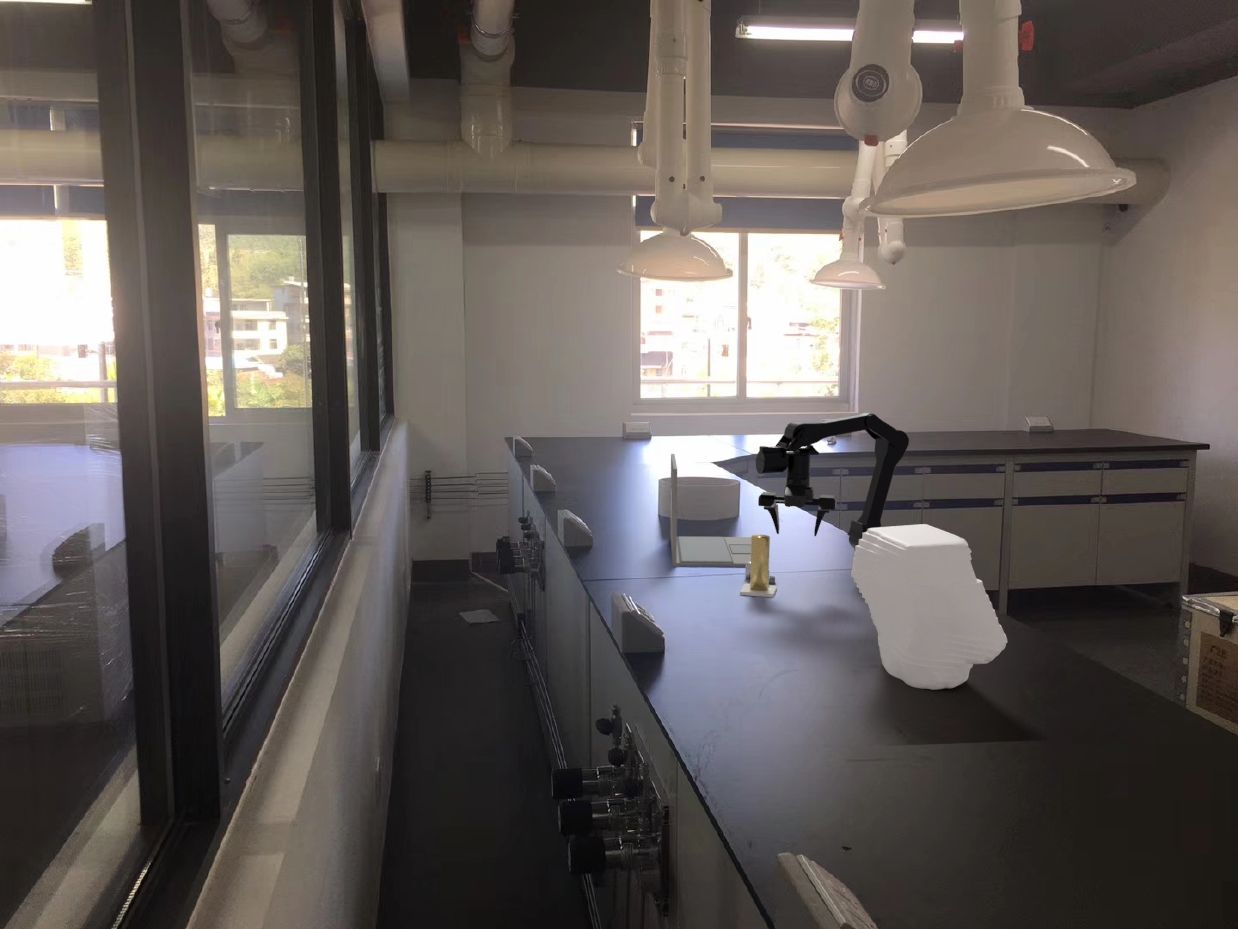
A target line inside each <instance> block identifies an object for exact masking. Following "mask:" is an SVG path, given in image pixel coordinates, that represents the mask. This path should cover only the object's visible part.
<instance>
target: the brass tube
mask: <svg viewBox="0 0 1238 929" xmlns="http://www.w3.org/2000/svg"><path fill="white" fill-rule="evenodd" d="M751 537H752V538H751V571H750V579H749V584H750V589H752V590H755V591H766V590H768V578H769V576H770V542H771V536H769V535H765V534H752V535H751Z"/></svg>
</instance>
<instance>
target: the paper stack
mask: <svg viewBox="0 0 1238 929" xmlns="http://www.w3.org/2000/svg"><path fill="white" fill-rule="evenodd" d="M853 553H854V554H853V555H854V557H853V558H852V566H851V567H852V568H851V573H850V577H851V578H853V583H856V588H858V592H859V594H861V598H863V599H864V602H865V603H866V604H867V605H868V606H867V607H868V608H869V614H871V615H870V619H871V620H872V624H873V625H874V626H875V628H876V631H877V635H878V636H877V643H878V644H877V646H878V647H879V653H880V654H879V655H880V659H881V662H882V663H881V665H882V666H883V667H884V670H885V671H886V672H887V673H888V674H889V675H891V676H892V677H893V678H896V679H899V680H902V682H904V683H905V684H906V685H907V686H910V687H913V688H915V689H924V690H925V689H927V690H928V689H929V690H931V691H934V690H935V691H938V690H943V689H953V688H956V687H957V686H961V685H962V684H964V683H965V682H967V680H968V679H969V675H970V672H971V669H972V668H973V667H974V666H973V665H983V664H989V663H990V662H992V661H993V660H994V659H995V658H997V656H999V655H1000V653H1002V651H1003V650H1005V648H1006V645H1007V643H1008V638H1007V635H1006V633H1005V632H1004V629H1003V627H1002V625H1001V624H1000V623H999V617H998V616H997V613H996V611H995V609H994V608H993V603H992V602H991V600H990V597H989V594H987V592H986V590H985V587H984V582H983V581H982V580H981V579H979V578H977V576H976V574H975V570H974V568H973V566H972V562H971V561H972V556H971V553H972V549H971V548H970V547H969V544H968V542H967V541H966V539H965V538H963V537H960V536H958V535H956V534H954V533H951V532H948V531H945V530H943V529H940V528H938V527H934V526H932V525H929V524H927V523H923V524H920V523H919V524H918V523H917V524H908V525H907V524H905V525H895V526H892V525H891V526H881V527H877V528H869V529H868V530H867V531H866V532H864V533H862V539H859V545H857V546H855V550H854V552H853Z"/></svg>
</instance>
